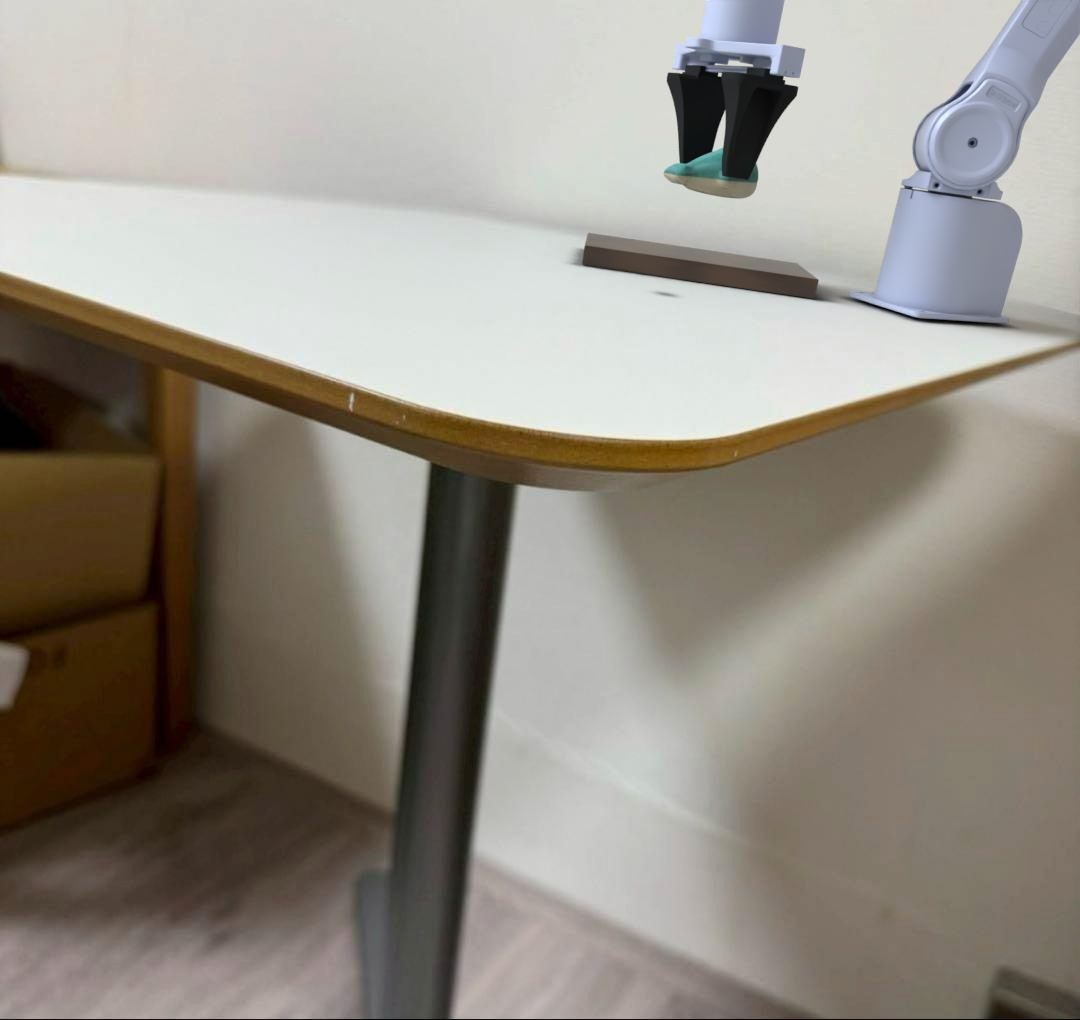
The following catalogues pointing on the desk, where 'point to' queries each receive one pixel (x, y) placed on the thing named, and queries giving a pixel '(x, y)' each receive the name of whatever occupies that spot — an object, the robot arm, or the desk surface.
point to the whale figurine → (711, 177)
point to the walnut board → (698, 265)
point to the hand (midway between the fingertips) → (712, 173)
